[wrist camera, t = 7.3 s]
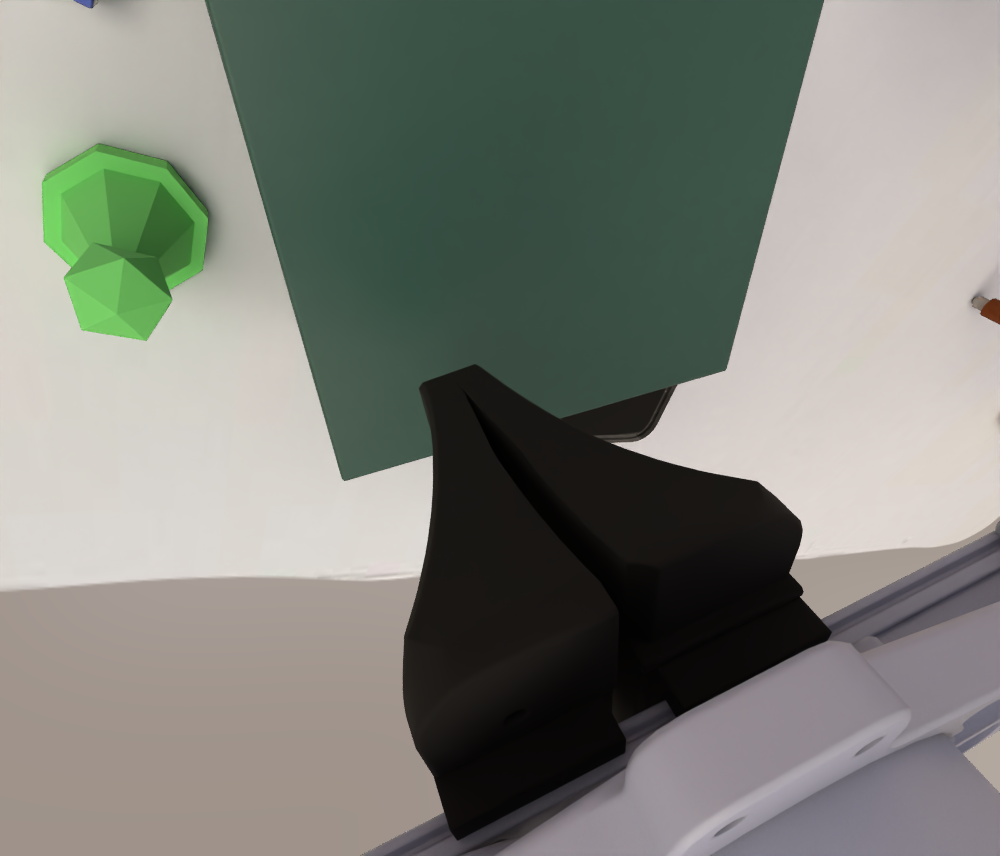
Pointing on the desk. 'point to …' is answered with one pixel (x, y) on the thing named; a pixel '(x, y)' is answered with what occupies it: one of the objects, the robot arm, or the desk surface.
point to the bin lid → (511, 191)
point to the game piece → (122, 237)
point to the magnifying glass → (988, 308)
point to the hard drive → (87, 3)
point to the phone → (624, 417)
